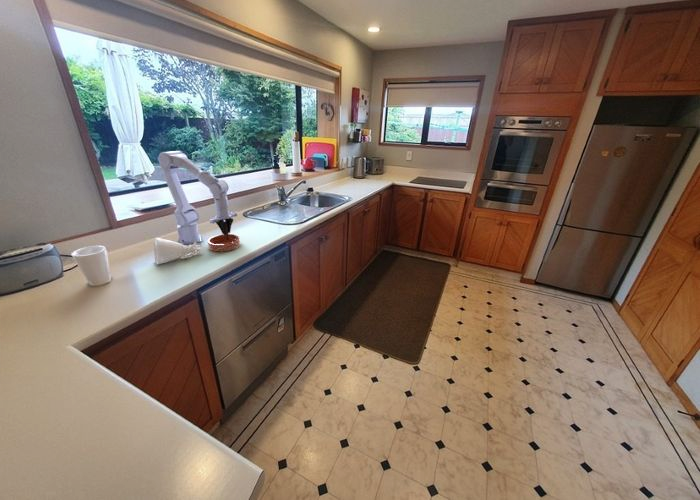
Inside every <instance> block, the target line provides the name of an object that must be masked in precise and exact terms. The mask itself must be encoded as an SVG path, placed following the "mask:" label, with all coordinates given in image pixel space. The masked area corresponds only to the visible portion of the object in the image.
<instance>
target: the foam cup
mask: <svg viewBox="0 0 700 500" xmlns="http://www.w3.org/2000/svg"><path fill="white" fill-rule="evenodd" d="M70 255H71V257H72V259H73V261H74V262H75V263H76V265H77V267H78V269H79V270H80V271H81V273H82V275H83V276H84V278H85V280H86V281H87V282H88V284H89V285H90V286H92V287H98V286H102V285H105V284H108V283H110V282H111V281H112V276H111V269H110V264H109V263H110V262H109V257H108V250H107V247H105V246H104V245H91V246H89V245H88V246H84V247H80V248H77V249H76V250H74V251H72V252H70Z"/></svg>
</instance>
